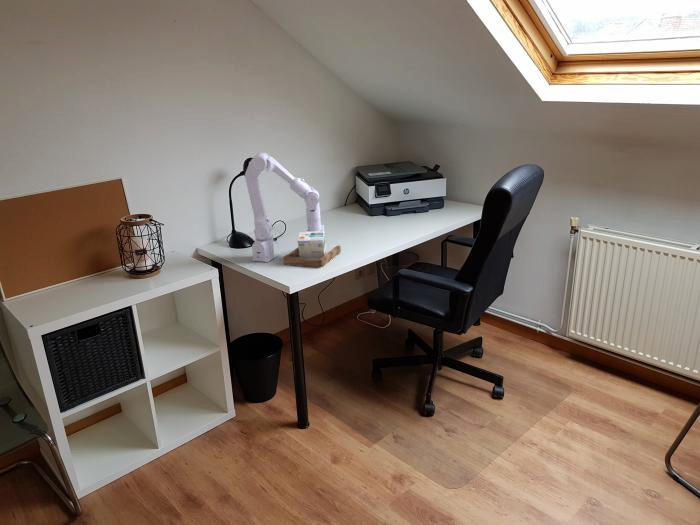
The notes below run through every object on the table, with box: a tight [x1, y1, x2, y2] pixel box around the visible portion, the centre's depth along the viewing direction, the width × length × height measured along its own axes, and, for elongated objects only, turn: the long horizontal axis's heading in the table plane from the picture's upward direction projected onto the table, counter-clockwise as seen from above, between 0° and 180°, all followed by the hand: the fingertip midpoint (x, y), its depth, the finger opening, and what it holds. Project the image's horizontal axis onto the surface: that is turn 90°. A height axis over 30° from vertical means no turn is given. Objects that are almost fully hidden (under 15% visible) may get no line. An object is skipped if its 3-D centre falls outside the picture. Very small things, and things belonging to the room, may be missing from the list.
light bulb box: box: [297, 230, 328, 259], centre depth 239 cm, size 11×7×11 cm, turn 86°
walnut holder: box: [282, 244, 342, 268], centre depth 243 cm, size 20×17×3 cm
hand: (316, 250), depth 245 cm, fingers closed
